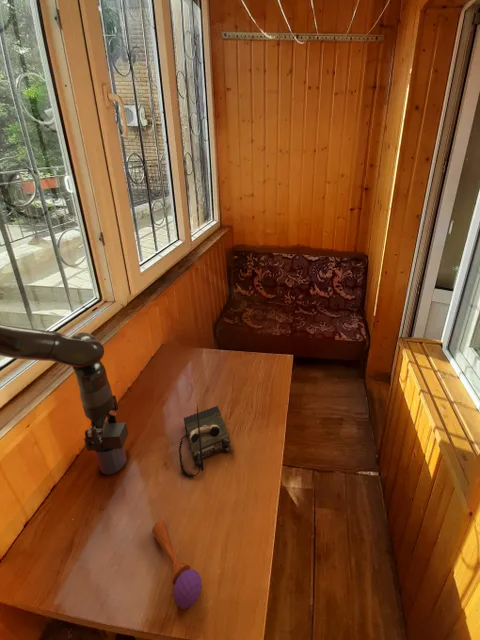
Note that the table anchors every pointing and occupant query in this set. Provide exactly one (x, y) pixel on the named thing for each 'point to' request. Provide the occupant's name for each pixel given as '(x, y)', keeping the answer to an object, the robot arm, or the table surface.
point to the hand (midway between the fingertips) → (107, 438)
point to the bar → (113, 436)
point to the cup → (111, 460)
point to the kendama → (179, 571)
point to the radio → (205, 436)
